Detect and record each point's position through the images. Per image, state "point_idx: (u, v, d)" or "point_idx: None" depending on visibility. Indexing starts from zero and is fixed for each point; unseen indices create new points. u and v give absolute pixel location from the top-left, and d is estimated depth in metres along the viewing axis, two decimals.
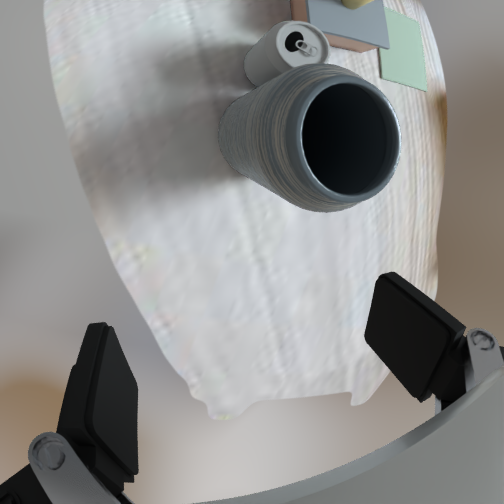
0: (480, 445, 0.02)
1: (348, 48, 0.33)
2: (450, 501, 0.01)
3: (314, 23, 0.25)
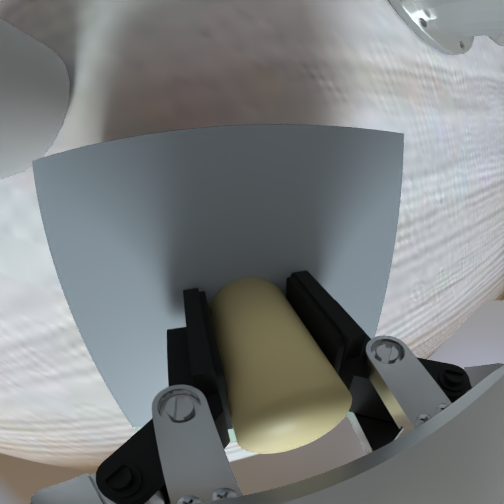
0: (480, 445, 0.02)
1: None
2: (450, 501, 0.01)
3: (58, 171, 0.07)
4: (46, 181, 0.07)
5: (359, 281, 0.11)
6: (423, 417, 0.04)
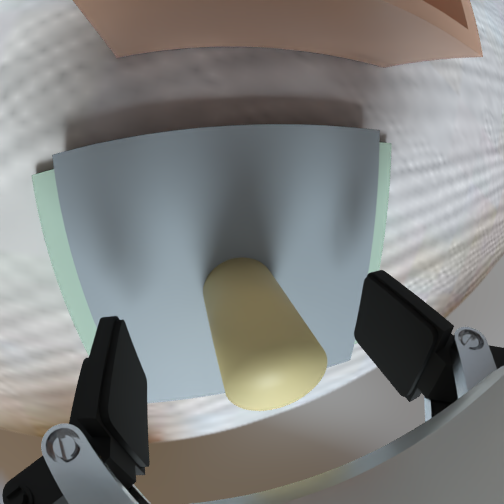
0: (480, 445, 0.02)
1: None
2: (450, 501, 0.01)
3: (76, 164, 0.08)
4: (65, 172, 0.08)
5: (341, 264, 0.13)
6: None
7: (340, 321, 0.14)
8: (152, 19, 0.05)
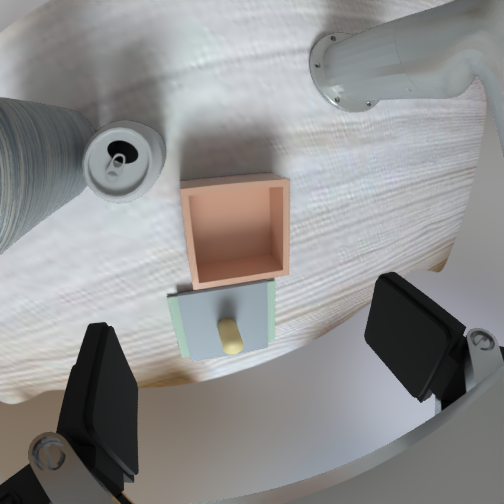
0: (480, 445, 0.02)
1: None
2: (450, 501, 0.01)
3: (184, 298, 0.39)
4: (181, 300, 0.38)
5: (257, 317, 0.43)
6: None
7: (260, 333, 0.44)
8: None
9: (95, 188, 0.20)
